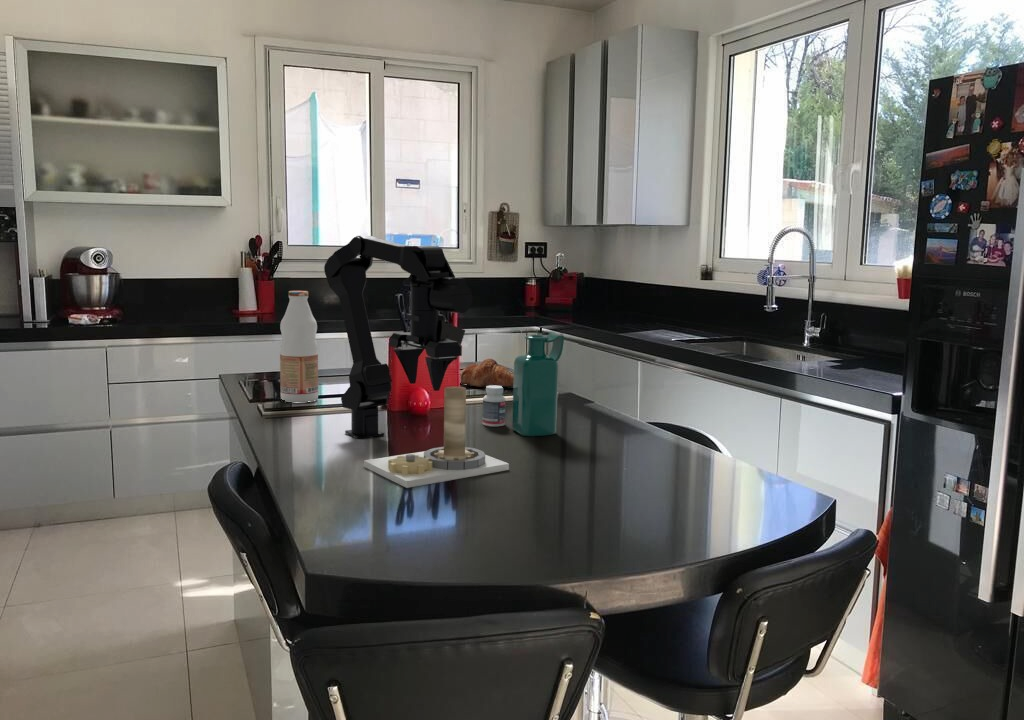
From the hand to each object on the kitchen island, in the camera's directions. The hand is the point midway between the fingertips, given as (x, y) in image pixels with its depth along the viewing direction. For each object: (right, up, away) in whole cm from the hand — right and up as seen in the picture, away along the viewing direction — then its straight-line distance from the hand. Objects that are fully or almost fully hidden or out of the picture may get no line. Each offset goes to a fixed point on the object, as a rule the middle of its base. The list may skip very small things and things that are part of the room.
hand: (424, 387), depth 176 cm
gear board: (+3, -15, -11) cm, 19 cm away
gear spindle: (+7, -14, -11) cm, 19 cm away
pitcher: (+23, -11, +21) cm, 33 cm away
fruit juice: (-37, -5, +49) cm, 61 cm away
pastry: (+10, -2, +78) cm, 79 cm away
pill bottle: (+13, -10, +27) cm, 31 cm away
